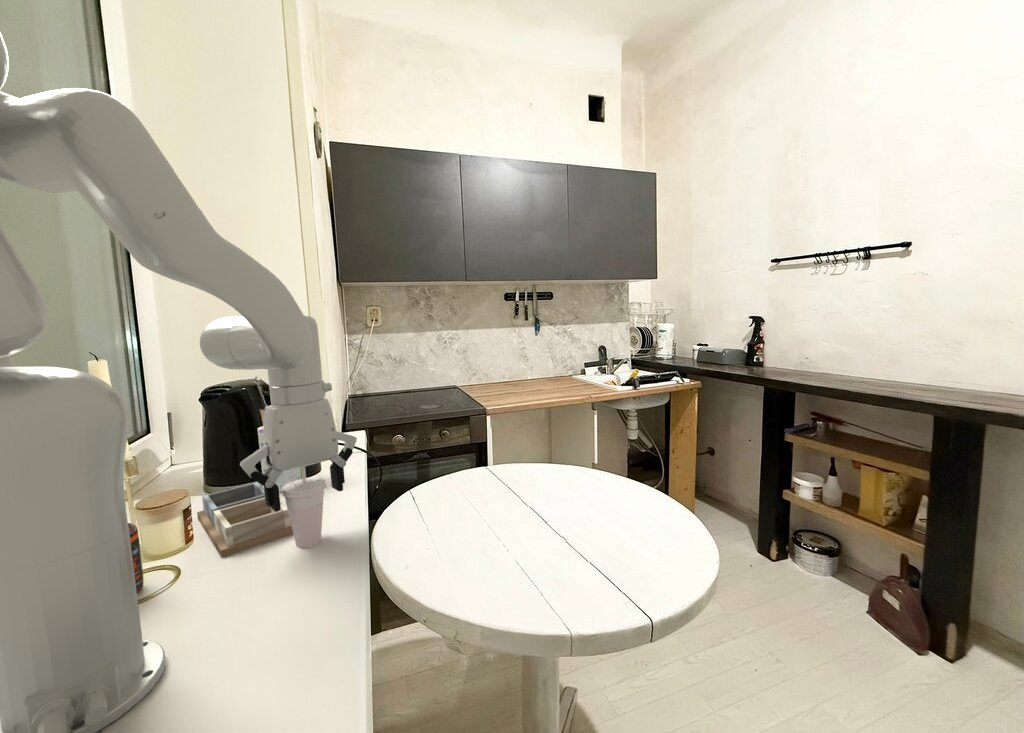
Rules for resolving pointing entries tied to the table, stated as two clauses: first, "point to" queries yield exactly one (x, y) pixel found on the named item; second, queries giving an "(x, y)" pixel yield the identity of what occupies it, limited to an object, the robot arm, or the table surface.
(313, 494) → the smoothie
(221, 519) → the organizer
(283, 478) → the syrup box
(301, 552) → the table surface
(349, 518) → the table surface
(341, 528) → the table surface
